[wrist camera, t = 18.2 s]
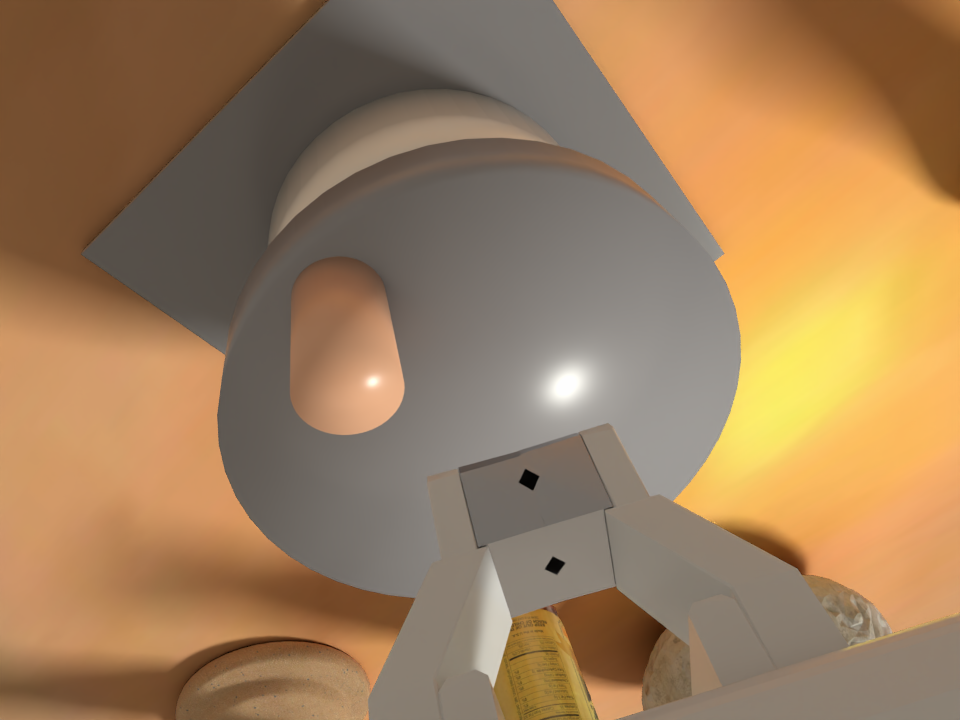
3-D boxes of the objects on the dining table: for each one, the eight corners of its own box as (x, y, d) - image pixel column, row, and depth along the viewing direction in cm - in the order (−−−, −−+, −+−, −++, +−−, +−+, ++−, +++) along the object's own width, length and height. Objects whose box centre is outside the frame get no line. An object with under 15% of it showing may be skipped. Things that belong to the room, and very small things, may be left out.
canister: (459, -135, 24) (532, -131, 17) (720, 250, 35) (835, 357, 28) (83, 249, 29) (8, 389, 21) (417, 484, 40) (445, 630, 32)
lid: (774, 361, 27) (895, 490, 21) (452, 593, 31) (486, 752, 25) (516, 5, 18) (610, 69, 13) (111, 390, 22) (50, 568, 16)
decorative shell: (584, 689, 56) (632, 830, 48) (687, 526, 47) (768, 665, 39) (768, 688, 62) (838, 812, 54) (890, 543, 53) (996, 666, 45)
